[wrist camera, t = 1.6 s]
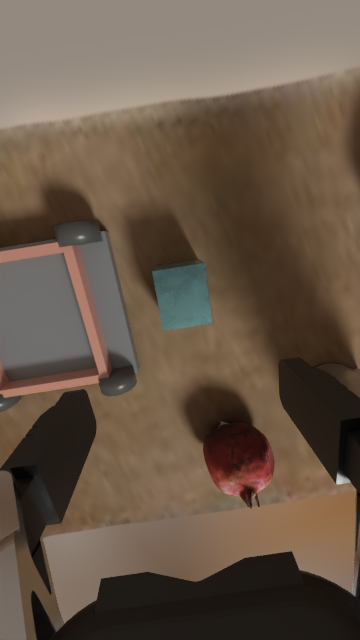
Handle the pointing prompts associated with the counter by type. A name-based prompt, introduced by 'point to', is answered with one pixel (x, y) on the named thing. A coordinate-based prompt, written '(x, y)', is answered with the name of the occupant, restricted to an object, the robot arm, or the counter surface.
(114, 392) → the chassis
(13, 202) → the counter surface
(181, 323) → the teal glassy cube
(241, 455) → the fruit
